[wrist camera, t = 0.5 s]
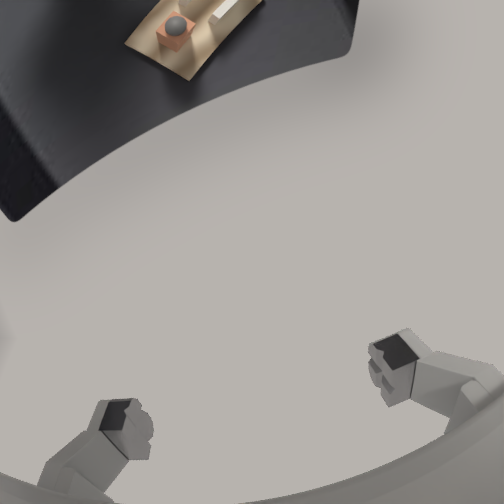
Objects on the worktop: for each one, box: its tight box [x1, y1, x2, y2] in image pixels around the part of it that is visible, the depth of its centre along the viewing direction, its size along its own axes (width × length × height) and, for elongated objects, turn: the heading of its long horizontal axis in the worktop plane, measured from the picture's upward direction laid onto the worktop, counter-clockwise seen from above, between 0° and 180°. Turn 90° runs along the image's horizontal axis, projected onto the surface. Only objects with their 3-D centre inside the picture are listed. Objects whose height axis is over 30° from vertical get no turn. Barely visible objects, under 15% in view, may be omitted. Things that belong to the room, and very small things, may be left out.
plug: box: [156, 11, 196, 53], centre depth 33 cm, size 4×4×10 cm
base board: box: [124, 0, 262, 81], centre depth 36 cm, size 14×22×2 cm, turn 142°
